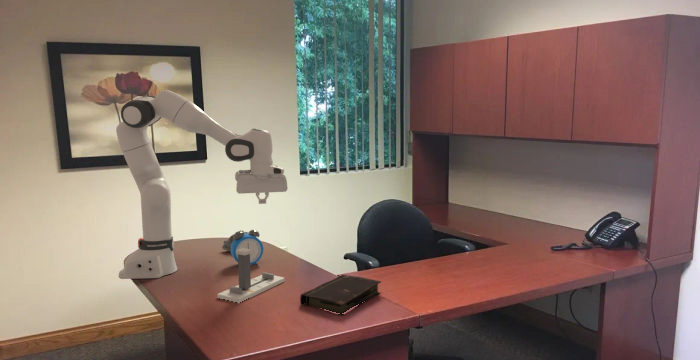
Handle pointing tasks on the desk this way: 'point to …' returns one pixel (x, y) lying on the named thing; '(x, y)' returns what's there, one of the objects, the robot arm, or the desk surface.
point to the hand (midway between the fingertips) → (262, 203)
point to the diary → (341, 293)
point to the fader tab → (244, 268)
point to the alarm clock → (247, 245)
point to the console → (251, 288)
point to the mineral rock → (229, 243)
